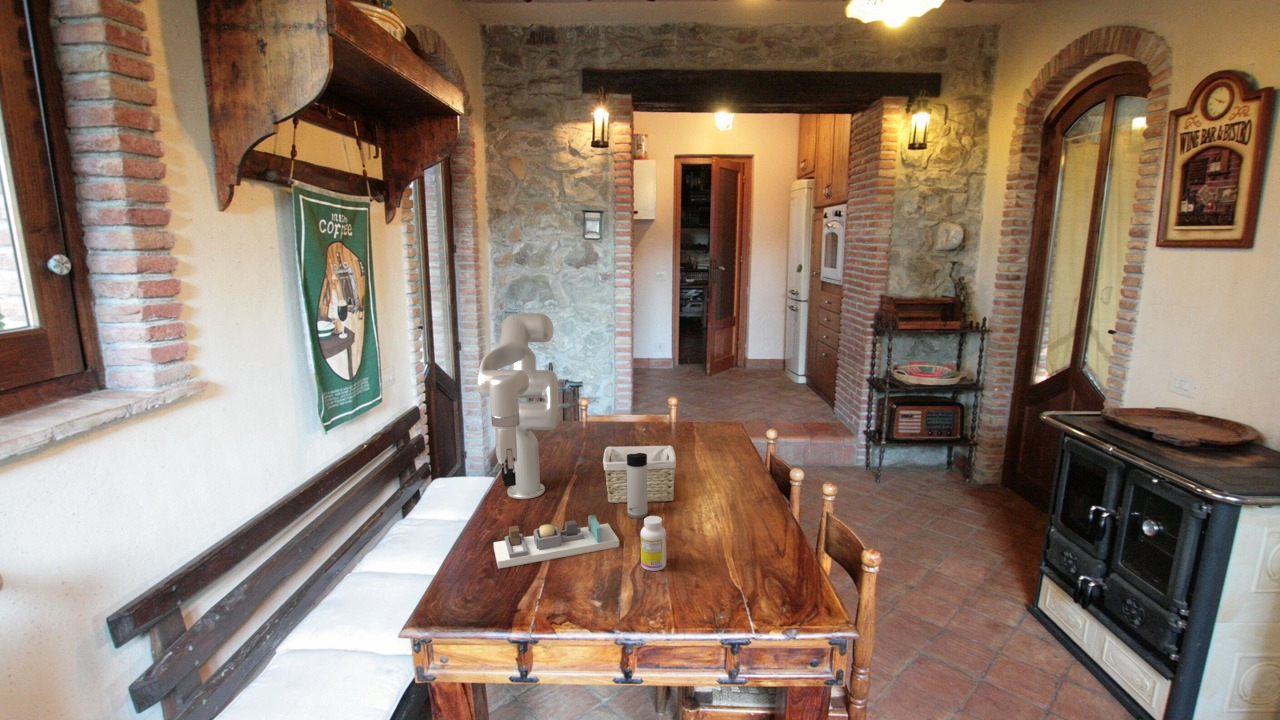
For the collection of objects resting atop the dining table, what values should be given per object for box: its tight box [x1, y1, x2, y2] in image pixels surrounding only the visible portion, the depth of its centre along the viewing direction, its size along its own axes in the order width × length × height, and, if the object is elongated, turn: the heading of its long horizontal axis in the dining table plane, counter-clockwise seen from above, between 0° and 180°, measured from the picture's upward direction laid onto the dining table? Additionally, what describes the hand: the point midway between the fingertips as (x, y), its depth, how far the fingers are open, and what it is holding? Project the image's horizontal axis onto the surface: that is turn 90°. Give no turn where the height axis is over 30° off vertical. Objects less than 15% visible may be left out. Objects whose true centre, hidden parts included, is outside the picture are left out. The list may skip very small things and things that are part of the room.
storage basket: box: [602, 445, 677, 504], centre depth 199 cm, size 24×16×15 cm
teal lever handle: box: [587, 514, 602, 542], centre depth 167 cm, size 9×2×4 cm, turn 19°
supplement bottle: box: [640, 515, 667, 572], centre depth 154 cm, size 7×7×13 cm
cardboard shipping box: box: [508, 525, 520, 545], centre depth 164 cm, size 3×2×4 cm
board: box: [493, 522, 620, 570], centre depth 164 cm, size 11×33×6 cm, turn 109°
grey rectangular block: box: [564, 519, 578, 537], centre depth 167 cm, size 2×3×4 cm
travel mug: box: [626, 453, 649, 519], centre depth 183 cm, size 6×7×20 cm
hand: (509, 482), depth 167 cm, fingers open, 3 cm apart
